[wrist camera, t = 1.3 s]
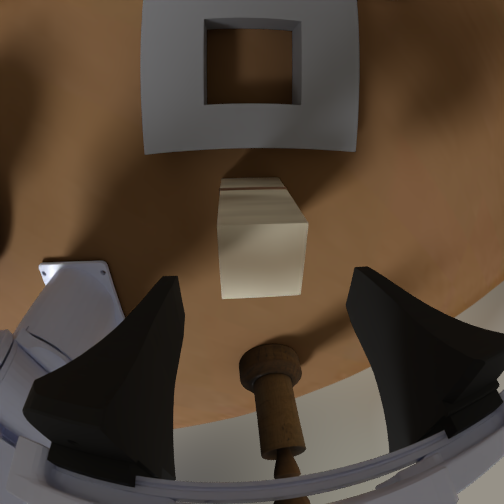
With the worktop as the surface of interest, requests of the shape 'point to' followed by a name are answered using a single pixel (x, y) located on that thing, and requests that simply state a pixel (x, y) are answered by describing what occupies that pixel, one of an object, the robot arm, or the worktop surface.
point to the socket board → (249, 115)
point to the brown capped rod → (276, 407)
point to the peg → (259, 239)
